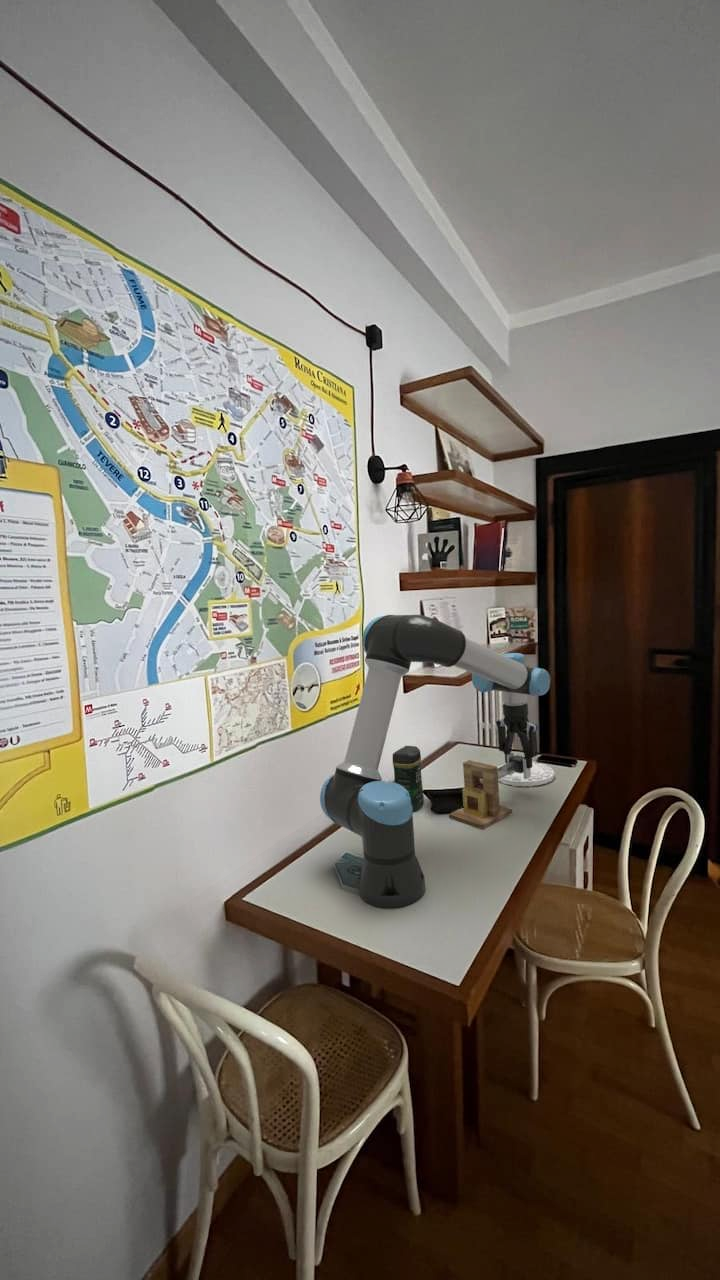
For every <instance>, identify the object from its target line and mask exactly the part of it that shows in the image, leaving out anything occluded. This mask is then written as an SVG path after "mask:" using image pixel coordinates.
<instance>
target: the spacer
mask: <svg viewBox="0 0 720 1280" xmlns="http://www.w3.org/2000/svg"><path fill="white" fill-rule="evenodd" d="M461 790H462V803H463V806H462V807H464V812H465V813H468V814H471V815H474V816H477V817H480V818H483V819H484V818H486V817H487V816H489V812H488V796H487V792H485V791H482V790H478V789H475V788H471V787H466V788H465V787H463V788H462V789H461ZM472 797H474V798H478V807H475V806H473V798H472Z"/></svg>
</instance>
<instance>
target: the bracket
mask: <svg viewBox="0 0 720 1280" xmlns="http://www.w3.org/2000/svg"><path fill="white" fill-rule="evenodd" d="M497 767H498V765H491V764H487V763H482V762H480V761H475V760H470V759H469V760H466V761H464V762H462V769H463V783H464V788H466V787H471V788H475V789H478V790H482V791H485V792H487V796H488V812H489V816H487V817H486V818H484V819H483V818H480V817H477V816H474V815H471V814H468V813H465V812H464V808H462V807H461V809H460V808H459V809H456V810H453V811H452V812H450V813H448V817H449V819H451V820H454V821H458V822H459V823H463V824H464V825H465V824H466V825H469V826H471V827H474V828H477V829H480V830H484V829H487V828H489V827H490V826H493V825H494V824H496V823H497V822H499V821H501V820H503V819H505V818H506V817H508V816H510V815H512V814H513V808H509V807H506V806H503V805H501V804H500V792H499V791H500V789H499V788H500V787H499V781H498V771H497ZM478 776H479V777H483V786H482V787H481V786H479V785H478V783H477V777H478ZM472 798H473V806H475V807H478V798H474V797H472Z"/></svg>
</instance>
